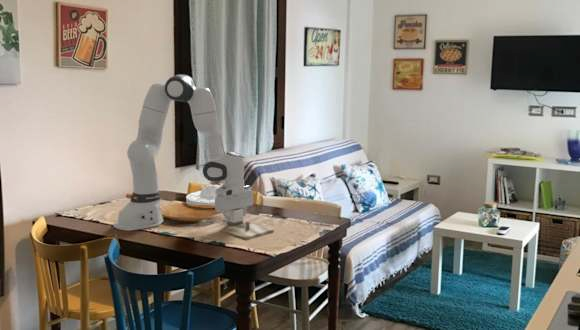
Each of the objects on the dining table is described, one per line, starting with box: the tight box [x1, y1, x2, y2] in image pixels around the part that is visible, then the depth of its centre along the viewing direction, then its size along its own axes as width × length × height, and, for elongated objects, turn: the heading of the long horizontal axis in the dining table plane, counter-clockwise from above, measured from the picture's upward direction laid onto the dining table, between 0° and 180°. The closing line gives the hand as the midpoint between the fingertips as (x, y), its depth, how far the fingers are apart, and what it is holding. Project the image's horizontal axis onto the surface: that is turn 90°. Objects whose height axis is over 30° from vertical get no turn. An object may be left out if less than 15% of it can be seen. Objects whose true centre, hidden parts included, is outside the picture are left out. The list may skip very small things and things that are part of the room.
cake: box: [185, 182, 223, 206], centre depth 324 cm, size 28×28×10 cm
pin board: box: [221, 221, 275, 240], centre depth 272 cm, size 16×16×4 cm
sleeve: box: [226, 208, 244, 227], centre depth 284 cm, size 5×5×7 cm
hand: (235, 218), depth 284 cm, fingers open, 8 cm apart
